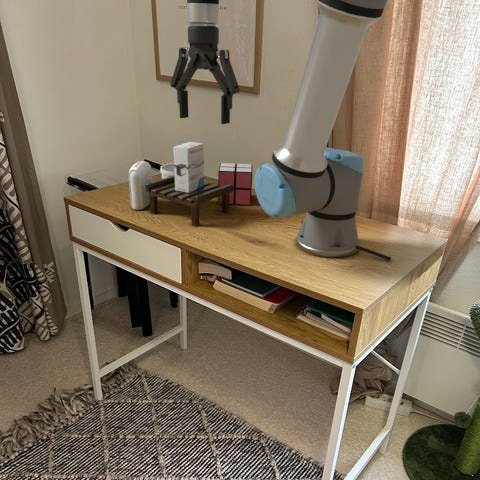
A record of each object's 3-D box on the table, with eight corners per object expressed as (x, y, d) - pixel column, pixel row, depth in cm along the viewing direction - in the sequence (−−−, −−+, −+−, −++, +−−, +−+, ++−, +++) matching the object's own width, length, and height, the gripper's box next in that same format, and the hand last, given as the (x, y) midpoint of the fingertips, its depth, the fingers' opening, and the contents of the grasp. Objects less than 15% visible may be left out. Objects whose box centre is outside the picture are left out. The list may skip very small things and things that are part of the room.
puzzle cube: (250, 205, 146) (252, 172, 141) (217, 204, 146) (218, 170, 141) (250, 195, 155) (252, 163, 150) (219, 194, 155) (220, 162, 150)
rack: (232, 212, 141) (233, 184, 136) (197, 227, 129) (197, 197, 125) (183, 199, 149) (183, 172, 145) (147, 212, 138) (145, 183, 134)
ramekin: (174, 181, 166) (173, 160, 162) (208, 186, 162) (208, 165, 158) (153, 191, 156) (152, 169, 152) (189, 197, 151) (189, 174, 148)
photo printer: (141, 199, 148) (138, 157, 142) (155, 200, 148) (152, 158, 141) (129, 209, 139) (125, 166, 133) (143, 211, 139) (140, 167, 132)
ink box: (190, 183, 140) (189, 140, 134) (204, 186, 138) (204, 143, 132) (174, 190, 133) (172, 146, 127) (189, 193, 131) (188, 148, 125)
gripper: (255, 26, 112) (252, 124, 123) (173, 24, 124) (177, 113, 135) (237, 26, 107) (235, 127, 118) (153, 24, 119) (158, 116, 130)
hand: (204, 120), depth 126 cm, fingers open, 13 cm apart
